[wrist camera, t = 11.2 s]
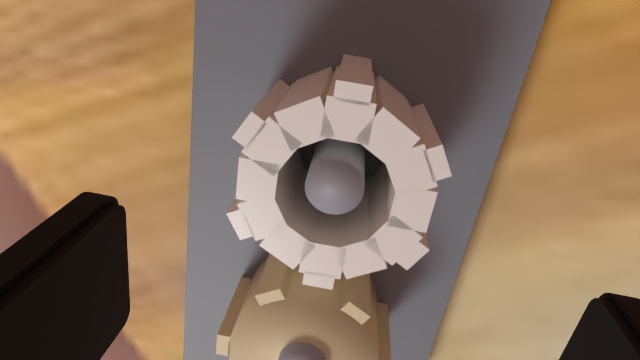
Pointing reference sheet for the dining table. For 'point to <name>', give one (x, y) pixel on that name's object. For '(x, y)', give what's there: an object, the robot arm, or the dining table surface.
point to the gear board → (411, 62)
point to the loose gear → (380, 189)
